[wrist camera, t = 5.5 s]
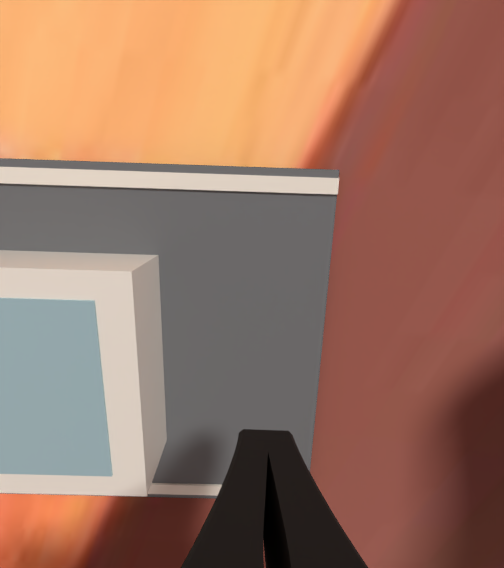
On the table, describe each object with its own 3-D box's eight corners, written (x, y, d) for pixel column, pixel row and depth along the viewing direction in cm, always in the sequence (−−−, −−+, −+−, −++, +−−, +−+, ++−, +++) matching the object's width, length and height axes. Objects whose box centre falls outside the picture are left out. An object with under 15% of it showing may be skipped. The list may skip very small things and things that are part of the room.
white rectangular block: (130, 271, 10) (-111, 264, 10) (146, 498, 12) (-49, 493, 12) (158, 255, 13) (-28, 249, 13) (166, 439, 15) (9, 435, 15)
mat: (336, 171, 13) (340, 169, 12) (305, 492, 17) (307, 502, 16) (-176, 153, 12) (-197, 151, 12) (-78, 482, 17) (-90, 493, 16)
